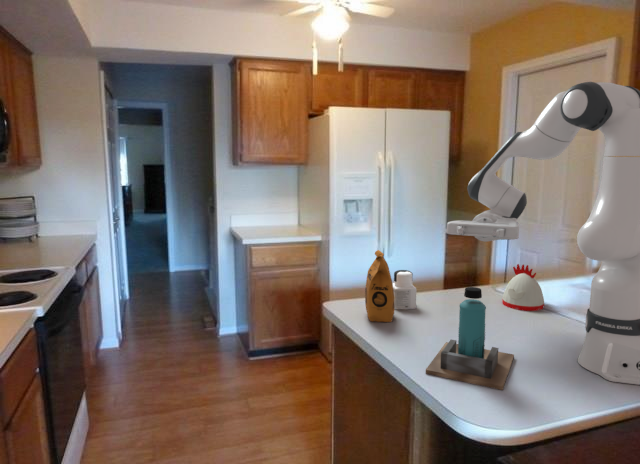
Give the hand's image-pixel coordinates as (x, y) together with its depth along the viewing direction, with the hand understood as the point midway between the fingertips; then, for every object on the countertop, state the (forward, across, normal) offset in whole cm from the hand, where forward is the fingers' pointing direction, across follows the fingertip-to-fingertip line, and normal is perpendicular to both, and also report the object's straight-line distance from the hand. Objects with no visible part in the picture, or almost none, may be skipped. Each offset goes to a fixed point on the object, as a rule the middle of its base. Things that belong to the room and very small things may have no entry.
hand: (477, 232), depth 131 cm
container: (-22, -29, +32) cm, 49 cm away
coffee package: (-7, -32, +32) cm, 46 cm away
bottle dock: (+17, +3, +32) cm, 36 cm away
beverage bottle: (+19, +3, +31) cm, 37 cm away
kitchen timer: (-44, +9, +32) cm, 55 cm away
